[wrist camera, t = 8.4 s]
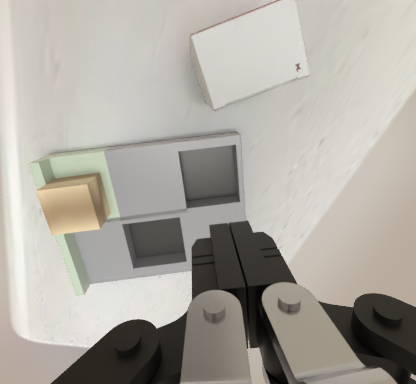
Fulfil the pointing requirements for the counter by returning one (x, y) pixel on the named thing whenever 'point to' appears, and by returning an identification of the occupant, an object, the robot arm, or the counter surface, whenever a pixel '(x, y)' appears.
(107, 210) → the block
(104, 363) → the robot arm
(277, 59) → the small box
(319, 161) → the counter surface
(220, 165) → the grey slotted tray
